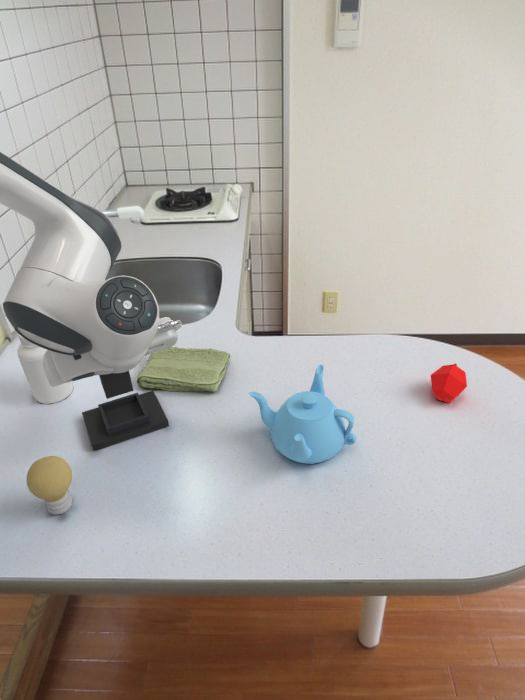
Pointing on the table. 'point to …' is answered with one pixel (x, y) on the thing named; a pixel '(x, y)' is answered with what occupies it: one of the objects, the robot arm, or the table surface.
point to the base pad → (124, 419)
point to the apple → (448, 382)
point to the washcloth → (184, 369)
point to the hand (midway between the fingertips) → (110, 362)
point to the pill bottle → (40, 374)
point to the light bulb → (51, 483)
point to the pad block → (116, 384)
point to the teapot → (307, 424)
